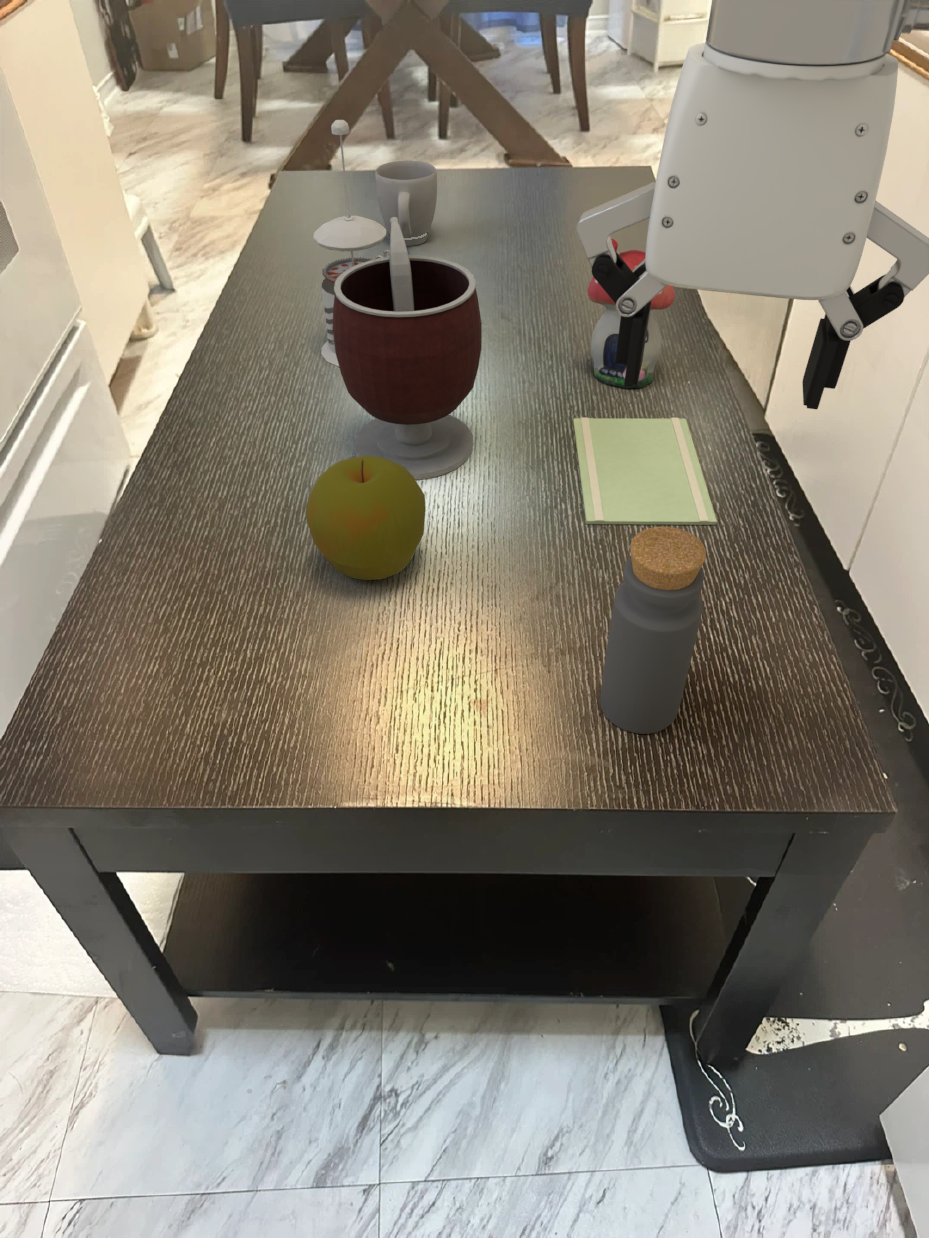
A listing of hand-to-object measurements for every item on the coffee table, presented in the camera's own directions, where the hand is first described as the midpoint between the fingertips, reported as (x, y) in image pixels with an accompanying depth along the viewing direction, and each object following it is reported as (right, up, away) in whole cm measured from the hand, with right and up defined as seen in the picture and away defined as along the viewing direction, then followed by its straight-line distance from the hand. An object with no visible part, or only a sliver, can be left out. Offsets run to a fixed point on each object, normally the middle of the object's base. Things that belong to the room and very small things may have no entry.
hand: (719, 385), depth 49 cm
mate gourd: (-20, +5, +43) cm, 48 cm away
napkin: (+3, +2, +39) cm, 39 cm away
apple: (-22, -8, +29) cm, 38 cm away
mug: (-23, +43, +82) cm, 95 cm away
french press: (-26, +19, +58) cm, 66 cm away
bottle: (-1, -19, +17) cm, 26 cm away
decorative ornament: (+4, +15, +53) cm, 55 cm away
